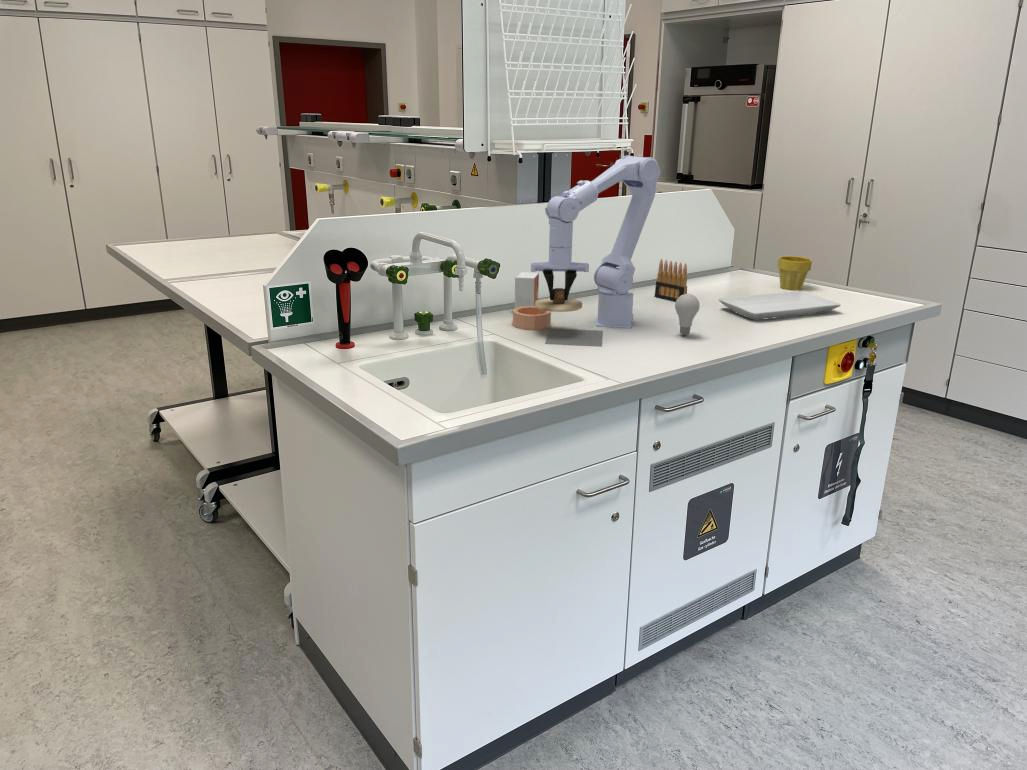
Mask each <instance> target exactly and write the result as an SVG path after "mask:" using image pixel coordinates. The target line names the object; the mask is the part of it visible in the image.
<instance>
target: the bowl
mask: <svg viewBox="0 0 1027 770" xmlns="http://www.w3.org/2000/svg"><path fill="white" fill-rule="evenodd" d="M551 324H552V311H545V310H541V309H538V308H536V307H535V306H525V307H518V308H515V307H514V308H513V310H512V326H513V327H515V328H517V329H521V330H531V331H537V330H546V329H548V328H550V327H551Z"/></svg>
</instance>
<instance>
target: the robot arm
mask: <svg viewBox="0 0 1027 770" xmlns="http://www.w3.org/2000/svg"><path fill="white" fill-rule="evenodd" d="M661 173H662V172H661V169H660V166H659V164H658V161H657V160H656V158H654V157H650V156H648V157H645V156H633V155H630V154H629V155H624V156H622V157H621V158H619V159H616V161H615V163H614V164H613V165H611V166H610V167H609V168H607V169H606V170H605V171H604V172H602V173H601V174H600V175H598V176H597V177H596V178H594V179H593V180H591V181H590V180H579V181H577V182H576V184H577V185H575V186H573V187H572V188H571V189H569V190H565V191H563V192H562V194H561V195H557V196H553V197H551V198H550V199H549V201H548V202H547V205H546V207H545V208H544V210H545V215H546V216H547V218H548V225H549V235H548V236H549V237H548V238H549V239H548V241H549V242H548V261H543V262H530V273H536V272H542V274H543V276H544V278H545V281H546V284H547V285H546V286H547V288H548V292H549V298H550V300H553V289H554V281H555V275H554V272H564V289H565V300H568V298H569V295H570V292H571V288H572V286H573V285H574V282H575V280H576V278H577V277H578V276H577V275H578V274H577V272H581V273H582V272H584V273H589V272H590V264H589V263H588V262H573V261H572V256H573V255H572V254H573V234H574V233H573V231H574V230H573V229H574V221H576V219H578V216H579V213H580V212H581V211H582V210H584V209H585V208H587V207H589V206H590V205H592V204H593V203H596V201H597V200H598V198H599V194H600V193H602V192H603V191H606V190H608V189H609V188H611V187H612V186H614V185H616V184H617V183H619V182H621V181H622V182H623V184H624V185H625V186H626V188H627V190H629V191H630V194H631V199H630V202H629V204H628V207H627V209H626V212H625V215H624V218H623V220H622V223H621V226H620V229H619V230H618V234H617V235H616V236H617V237H616V239H615V241H614V245H613V247H612V250H611V252H610V253H609V254H607V255H606V256H604V257H603V258H602V260H601V263H600V264H599V265H598V266H597V267H596V269H595V270H594V273H593V280H594V283H595V285H596V286H597V290H598V304H597V317H596V319H595V327H598V328H599V327H600V328H619V329H620V328H621V329H622V328H623V329H632V326H633V324H632V323H633V320H634V313H633V310H634V309H633V307H634V306H633V305H634V293H633V292H629V291H630V290H631V288H632V286H633V283H634V273H635V271H636V268H635V265H634V263H633V262H632V258H633V255H634V252H635V250H636V247H637V244H638V242H639V239H640V236H641V234H642V231H643V229H644V227H645V224H646V222H647V218H648V215H649V212H650V210H651V207H652V206H653V205H652V204H653V202H654V199H655V196H656V189H657V183H658V180H659V177H660V175H661Z"/></svg>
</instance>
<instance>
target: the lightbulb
mask: <svg viewBox="0 0 1027 770" xmlns="http://www.w3.org/2000/svg"><path fill="white" fill-rule="evenodd" d="M674 303H675V304H674V308H675V311H676V314H677V316H678V322H679V323H678V324H679V334H681V335H682V336H684V337H686V336H688V335H690V333H691V327H692V325H693V321H694V319H695V316H697V314H698V312H699V311H700V307H701V306H700V301H699V299H698V297H696V296H695V295H694V294H693V293H687V294H684V295H681V296H680V297H679V298H678V299H677V300H676V302H674Z"/></svg>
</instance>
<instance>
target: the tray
mask: <svg viewBox="0 0 1027 770" xmlns="http://www.w3.org/2000/svg"><path fill="white" fill-rule="evenodd" d="M717 301H718V302H720V303H721V304H722V305H723V306H724V307H726V308H728V309H729V310H731V312H733V311H734V313H736V312H737V313H736V314H738V313H740V314H739V315H741V314H742V315H741V316H743V315H745V316H744V317H746V316H747V317H746V318H748V317H749V319H751V318H752V320H755V319H759V320H765V319H764V318H768V319H774V318H773V317H777V318H784V316H787V317H794V315H796V316H803V315H805V316H806V315H813V314H814V313H816V314H824V313H826V312H829V311H832V310H835V309H837V308H840V307H841V306H842V305H841V304H840V303H838V302H836V301H833V300H830V299H826V298H823V297H820V296H818V295H814V294H812V293H809V292H806V291H799V290H795V291H786V292H785V291H784V292H775V293H767V294H756V295H755V294H754V295H744V296H735V297H734V296H733V297H732V296H731V297H722V298H718V300H717Z"/></svg>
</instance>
